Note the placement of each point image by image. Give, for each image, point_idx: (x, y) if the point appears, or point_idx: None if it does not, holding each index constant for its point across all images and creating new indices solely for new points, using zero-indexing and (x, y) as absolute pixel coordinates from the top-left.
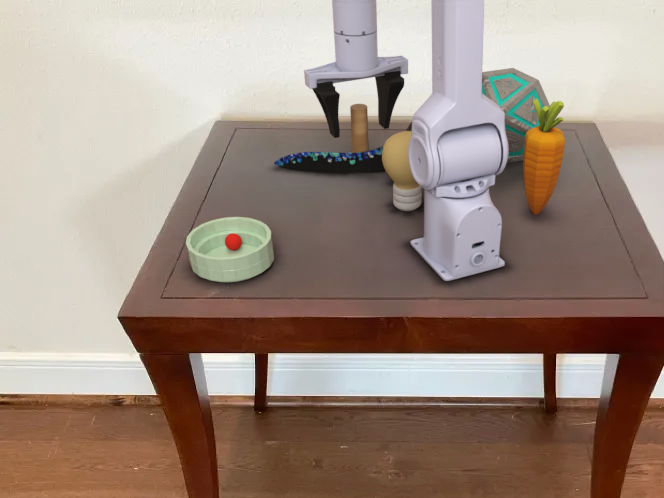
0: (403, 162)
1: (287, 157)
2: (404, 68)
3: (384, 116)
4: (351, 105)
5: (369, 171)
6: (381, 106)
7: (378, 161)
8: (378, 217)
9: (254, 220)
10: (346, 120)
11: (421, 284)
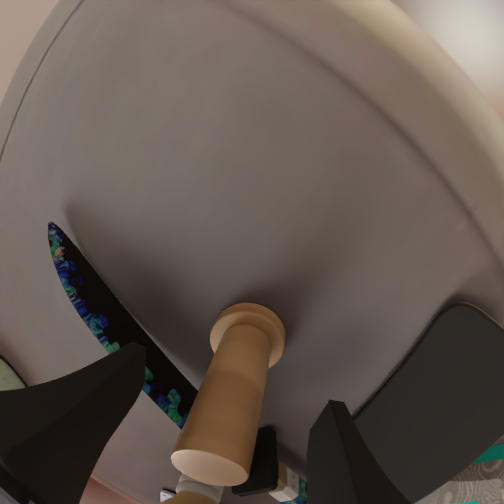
0: None
1: (55, 258)
2: None
3: (312, 461)
4: (187, 449)
5: None
6: (329, 469)
7: None
8: (156, 457)
9: None
10: (413, 49)
11: (144, 499)
